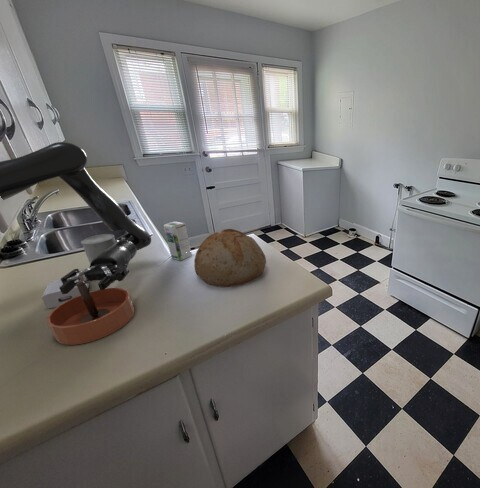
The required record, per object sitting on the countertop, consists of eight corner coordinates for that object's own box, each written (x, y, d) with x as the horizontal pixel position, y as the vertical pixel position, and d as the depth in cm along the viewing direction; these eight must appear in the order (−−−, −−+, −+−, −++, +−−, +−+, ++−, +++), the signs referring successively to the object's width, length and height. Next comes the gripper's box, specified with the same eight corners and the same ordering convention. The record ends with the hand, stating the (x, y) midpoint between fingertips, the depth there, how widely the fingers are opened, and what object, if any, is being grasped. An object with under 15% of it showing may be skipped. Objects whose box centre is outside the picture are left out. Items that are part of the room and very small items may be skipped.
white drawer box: (91, 278, 96) (87, 298, 85) (56, 286, 91) (47, 309, 80) (86, 266, 94) (81, 286, 83) (51, 274, 89) (40, 295, 78)
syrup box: (170, 258, 110) (162, 225, 104) (183, 252, 115) (175, 220, 109) (180, 261, 108) (172, 227, 102) (192, 255, 113) (185, 222, 107)
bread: (189, 266, 104) (181, 230, 98) (247, 250, 116) (243, 217, 110) (208, 298, 84) (199, 255, 78) (275, 275, 97) (272, 237, 91)
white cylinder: (124, 260, 109) (114, 232, 104) (124, 270, 101) (113, 240, 97) (94, 267, 104) (82, 237, 99) (92, 277, 97) (79, 246, 92)
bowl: (44, 354, 64) (34, 336, 62) (67, 313, 78) (59, 297, 76) (130, 330, 71) (124, 314, 69) (137, 297, 85) (132, 282, 83)
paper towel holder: (78, 330, 70) (59, 291, 65) (85, 316, 76) (68, 279, 71) (108, 322, 73) (92, 284, 68) (112, 309, 78) (98, 273, 73)
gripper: (81, 252, 81) (43, 280, 67) (134, 248, 84) (108, 273, 70) (90, 274, 84) (55, 304, 70) (141, 269, 87) (117, 297, 73)
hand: (81, 289), depth 70 cm, fingers open, 8 cm apart
